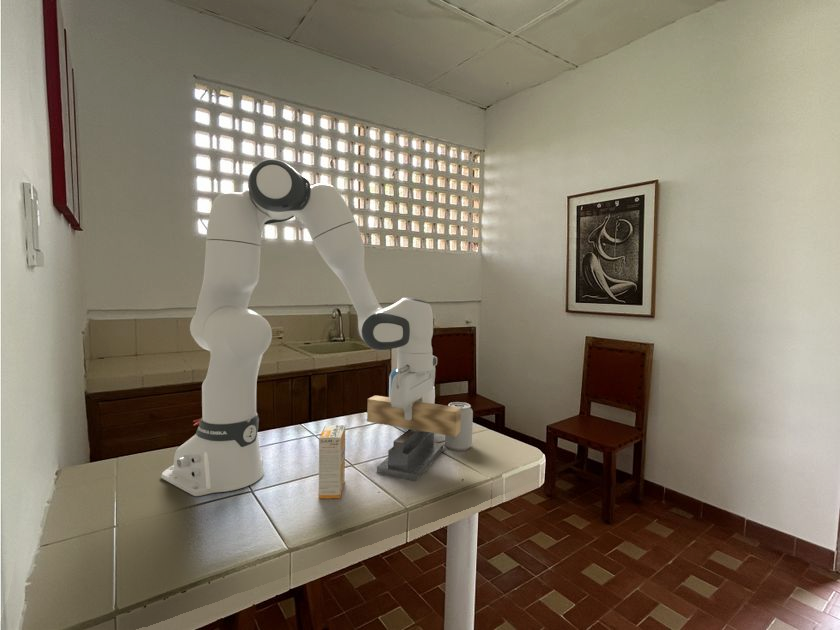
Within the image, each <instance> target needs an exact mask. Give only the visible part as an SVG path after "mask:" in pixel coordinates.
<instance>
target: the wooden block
mask: <svg viewBox="0 0 840 630" xmlns="http://www.w3.org/2000/svg"><path fill="white" fill-rule="evenodd" d="M366 409H367V412H366V413H367V414H366V415H367V416H366V421H367V423H373V424H378V425H385V426H390V427H396V428H402V429H407V430H408V429H413V430H419V431H425V432H431V433H434V434H437V435H444V436H445V435H448V436H454V437H456V436H457V435H458V433H459V432H460V426H461V408H460V407H453V406H448V405H444V404H437V403H434V404H432V403H425V402H418V401H415V402H414V403H413V404H412V412H413V419H411V420H405V413H404V410H403V408H396V407H392V405H391V398H390V397H389V396H383V395H373V396H371V397H369V398H367V408H366Z"/></svg>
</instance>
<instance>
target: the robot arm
mask: <svg viewBox="0 0 840 630" xmlns="http://www.w3.org/2000/svg"><path fill="white" fill-rule="evenodd" d="M247 181H248V182H247V186H248V189H247V190H245V191H242V192H235V191H229V192H223V193H220V194H219V195H217V196H216V197H215V198H214V200H213V202H212V204H211V205H212V206H211V208H210V212H209V217H208V222H207V227H206V228H207V229H206V236H205V255H204V256H205V257H204V268H203V269H204V271H203V272H204V273H203V279H202V285H201V289H200V293H199V295H198V300H197V302H196V303H197V304H196V310H195V313H194V315H193V317H192V318H191V321H190V323H189V331H190V335H191V337H192V338H193V339H194V342H196V344H197V345H198V346H199V347H200V348H202V349H203V350H206V351H208V352H209V354H210V356H209V363H208V369H207V373H206V376H205V379H204V380H203V381H202V385H201V407H202V408H201V409H202V410H201V411H202V412H201V413H202V417H201V418H198V419H195V420H193V421H192V422H193V423H194V422H195V423H194V424H193V426H197V425H198V426H197V428H196V429H197V430H196V433H195V434H194V435H193V436H191V437H190V438H189V439H187V440H186V441H185V442H184V443H183V444H181V445H180V446H179V447H178V448H177V449H176V451H175V453H174V457H173V465H171V466H169V467H168V468H166V469H165V470H164V471H162V473H161V477H160V478H161V479H162V480H164V481H166V482H168V483H169V484H171V485H172V486H175V487H177V488H179V489H180V490H182V491H184V492H186V493H188V494H189V495H192V496H194V497H200V496H205V495H208V494H214V493H222V492H223V493H224V492H230V491H235V490H240V489H242V488H246V487H248V486H250V485H252V484H255V483H256V482H258V481H259V480H260V479H261V478H263V477H264V474H265V470H264V467H263V463H264V461H263V457H262V456H261V450H260V440H259V434H258V431H259V422H260V418H259V414H258V412H257V381H258V375H259V369H260V366H261V362H262V358H263V355H264V354H265V352H266V351H268V349H269V347H270V345H271V342H272V339H273V330H272V327H271V325H270V323H269V321H268V320H267V319H266V318H265V317H264V316H262V315H261V314H260V313H258V312H256V311H254V310H253V309H249V304H250V301H251V297H252V294H253V291H254V289H255V287H256V286H257V285H258V283H259V279H260V269H261V268H260V267H261V264H260V263H261V250H262V249H261V248H262V247H261V246H262V231H263V227H264V225H271V224H275V223H282V222H287V221H289V220H291V219H293V218H294V217H296V218H297V219H298V220H300V221H301V222H302V223H303V224H304V226H305V227H306V229H307V231H308V233H309V235H310V237H311V239H312V242H313V244H314V247H315V248H316V249H317V251H318V254H319V256H321V258H322V259H323V261H324V262H325V263H326V265H327V266H328V268H330V269H331V271H332V272H333V273H334V274H335V275H336V276H337V277H338V279H339V280H340V282H341V283H342V284H343V286H344V288H345V290H346V293H347V295H348V297H349V299H350V303H352V306H353V307H354V311H355V314H356V330H357V334H358V336H359V338H360V339H361V340H362V341H363V342H364V344H366V345H367V346H368V347H369V348H370V349H372V350H375V351H381V352H383V351H386V350H387V351H388V350H393V349H397V350H396V351H397V352H396V353H397V354H396V367H397V369H398V373H397V374H396V375H395V376H394V378H393V381H392V388H391V405H392V407H396V408H403V410H404V413H405V420H411V419H413V412H412V404H413V403H414V402H415V401H418V402H423V400H424V395H426V394H427V393H429V392H430V391H432V390H433V387H435V379H436V366H437V365H438V357H437V356H435V355H433V346H432V339H433V334H434V317H433V316H434V315H433V310H432V306H431V304H430V303H429V302H428V301H426V300H423V299H419V298H414V297H409V296H405V297H404V296H403V297H402V298H401V299H399V300H397V302H395V303H393V304H391V305H389V306H386V307H382V305H381V304H380V303H379V301H378V300H377V297H376V295H375V292H374V291H373V288H372V286H371V284H370V281H369V279H368V276H367V273H366V269H365V254H366V253H365V252H366V249H365V245H364V241H363V238H362V234H361V231H360V228H359V226H358V224H357V221H356V219H355V217H354V215H353V213H352V211H351V210H350V207H349V206H348V204H347V202H346V201H345V199H344V198H343V196H342V195H341V194H340V192H339V190H338V189H337V188H336V187H335V186H334V185H332V184H329V183H317V184H313V185H311V183H310V180H308V179H307V178H306V177H305V176H303V175H302V174H300V173H299V172H298V171H297V170H296V169H295V168H293V167H292V166H291V165H289V164H287V162H284V161H282V160H279V159H270V158H269V159H265V160H262V161H260V162H259V163H257V164H256V165H255V166H254V167H253V168H252V169H251V172H250V173H249V177H248V179H247Z"/></svg>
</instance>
